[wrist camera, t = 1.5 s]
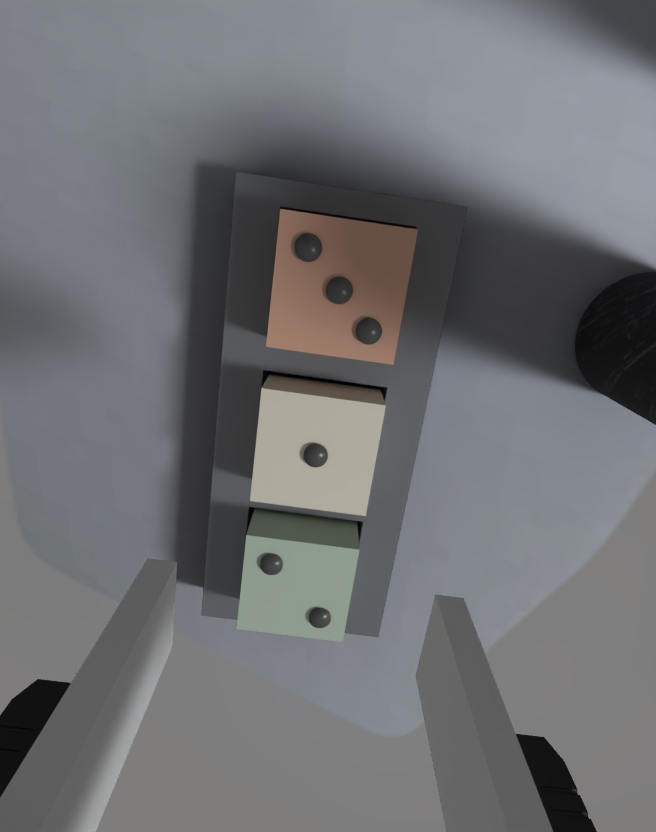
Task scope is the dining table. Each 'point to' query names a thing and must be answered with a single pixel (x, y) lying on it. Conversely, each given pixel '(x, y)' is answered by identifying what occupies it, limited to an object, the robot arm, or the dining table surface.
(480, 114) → the dining table surface
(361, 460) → the button one
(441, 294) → the keypad board
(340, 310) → the button three
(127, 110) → the dining table surface
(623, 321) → the travel mug
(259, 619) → the button two
